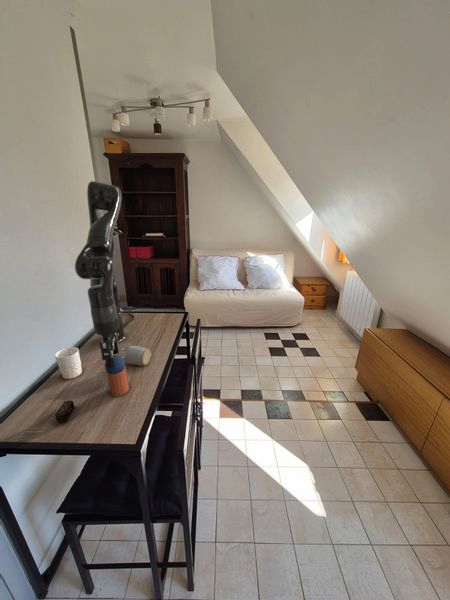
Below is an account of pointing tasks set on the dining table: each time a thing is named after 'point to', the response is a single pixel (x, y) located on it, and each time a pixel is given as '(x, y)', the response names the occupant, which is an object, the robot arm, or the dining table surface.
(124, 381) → the cup
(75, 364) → the white cup
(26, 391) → the dining table surface
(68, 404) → the wireless earbuds
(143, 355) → the ceramic mug
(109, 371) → the ball
